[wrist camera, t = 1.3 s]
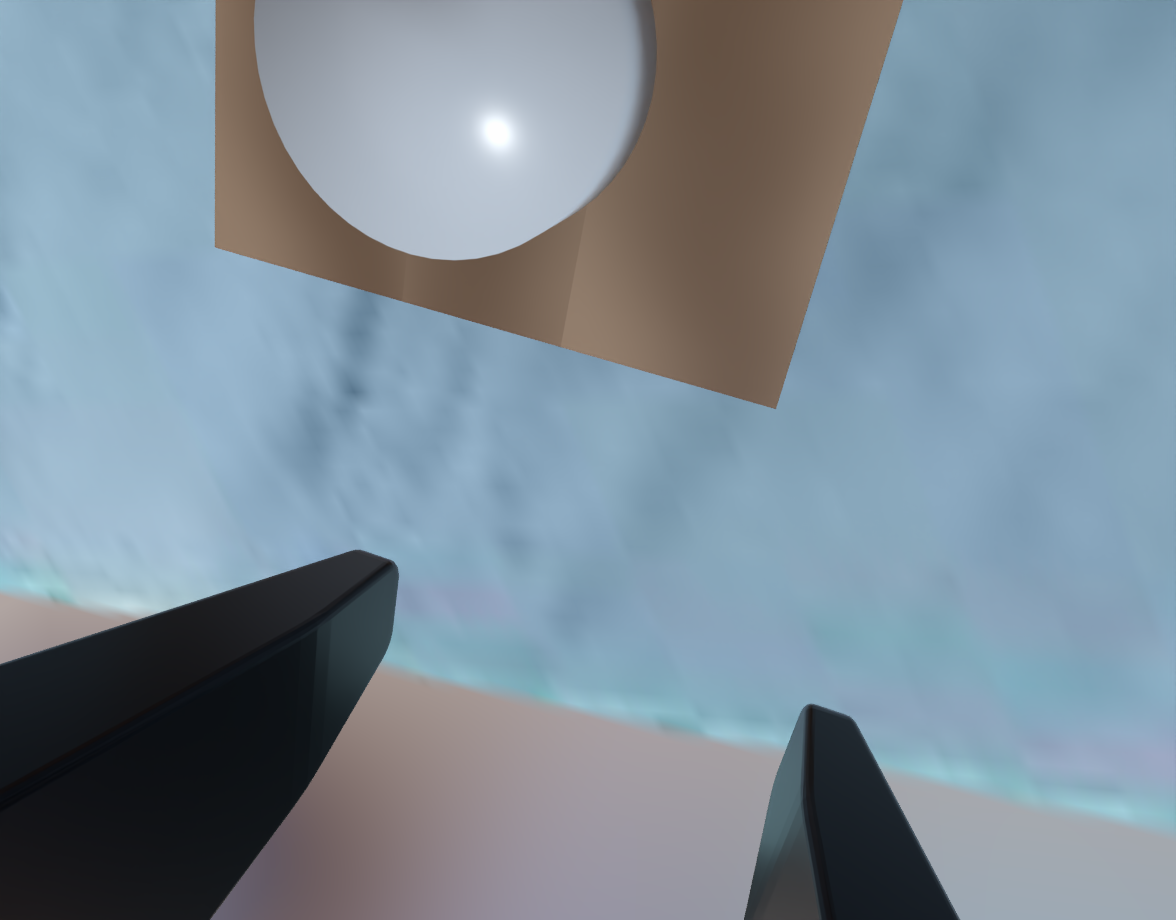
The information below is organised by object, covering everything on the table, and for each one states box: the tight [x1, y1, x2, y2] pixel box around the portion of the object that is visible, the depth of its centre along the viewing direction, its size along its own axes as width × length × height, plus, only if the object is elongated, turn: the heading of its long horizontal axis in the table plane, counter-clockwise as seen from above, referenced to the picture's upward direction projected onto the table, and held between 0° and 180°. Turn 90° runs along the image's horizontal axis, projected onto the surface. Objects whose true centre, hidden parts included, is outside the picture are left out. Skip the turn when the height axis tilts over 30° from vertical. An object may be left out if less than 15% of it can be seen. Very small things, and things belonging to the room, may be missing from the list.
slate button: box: [254, 0, 657, 260], centre depth 15 cm, size 6×6×5 cm
